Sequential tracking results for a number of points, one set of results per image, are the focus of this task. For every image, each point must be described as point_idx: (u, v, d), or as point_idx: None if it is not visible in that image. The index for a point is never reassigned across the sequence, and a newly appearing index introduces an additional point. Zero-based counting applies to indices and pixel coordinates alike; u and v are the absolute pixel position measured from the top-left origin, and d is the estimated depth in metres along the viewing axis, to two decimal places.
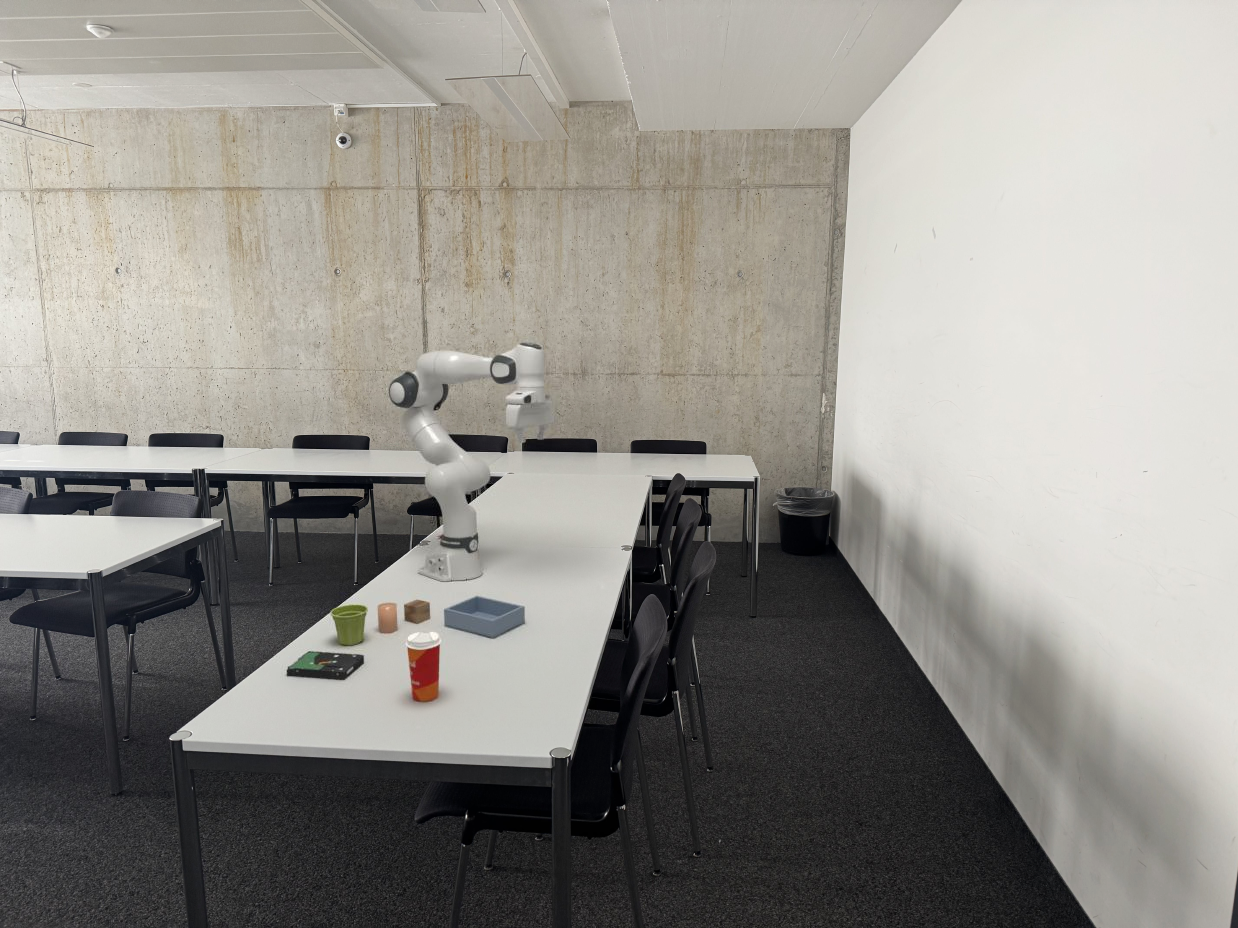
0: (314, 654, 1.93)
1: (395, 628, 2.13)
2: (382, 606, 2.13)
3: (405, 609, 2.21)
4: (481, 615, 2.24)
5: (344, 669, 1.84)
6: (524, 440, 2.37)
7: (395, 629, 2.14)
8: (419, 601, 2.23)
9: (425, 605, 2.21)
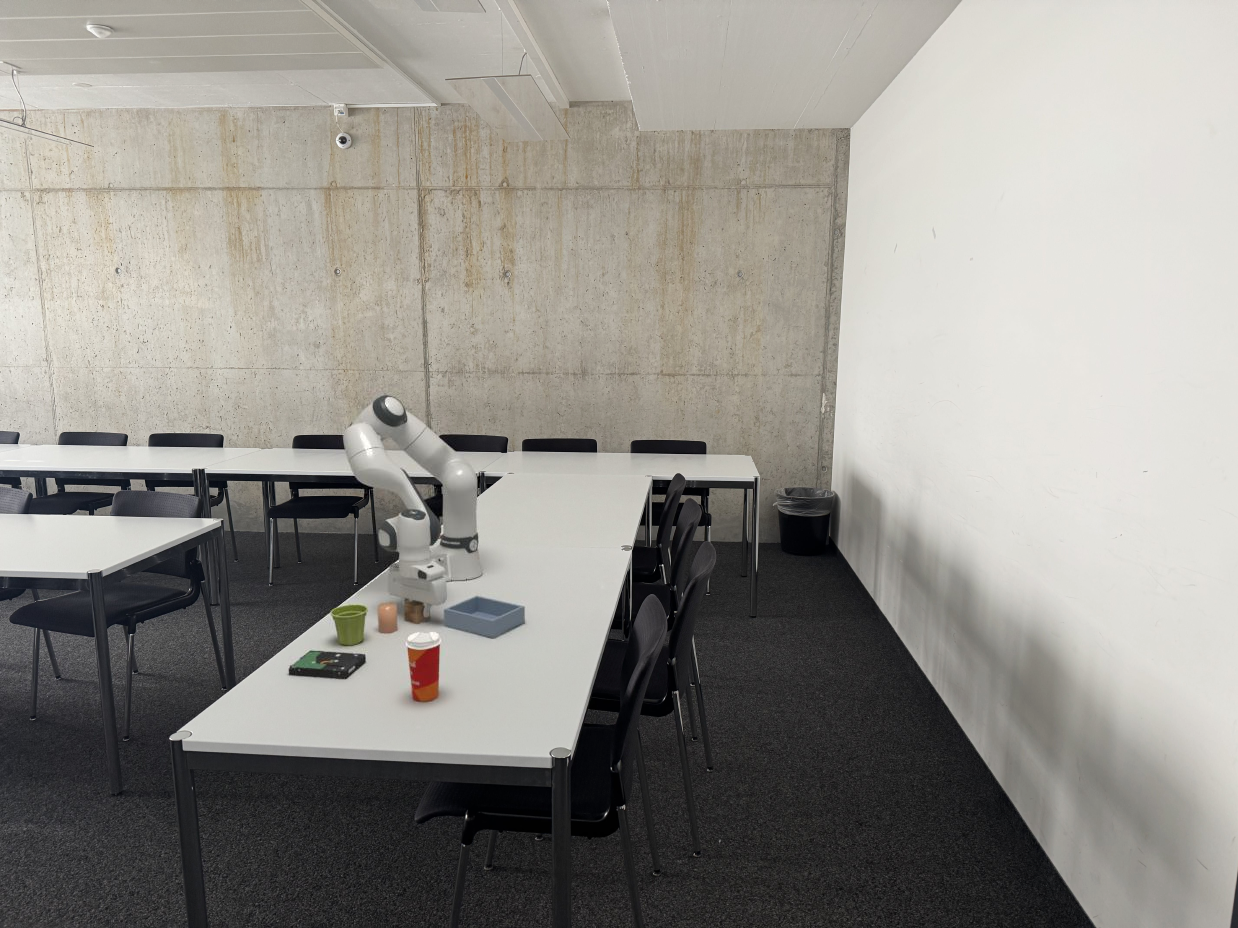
0: (316, 653, 1.93)
1: (395, 628, 2.13)
2: (382, 606, 2.13)
3: (405, 609, 2.21)
4: (481, 615, 2.24)
5: (346, 668, 1.84)
6: None
7: (395, 629, 2.14)
8: None
9: None
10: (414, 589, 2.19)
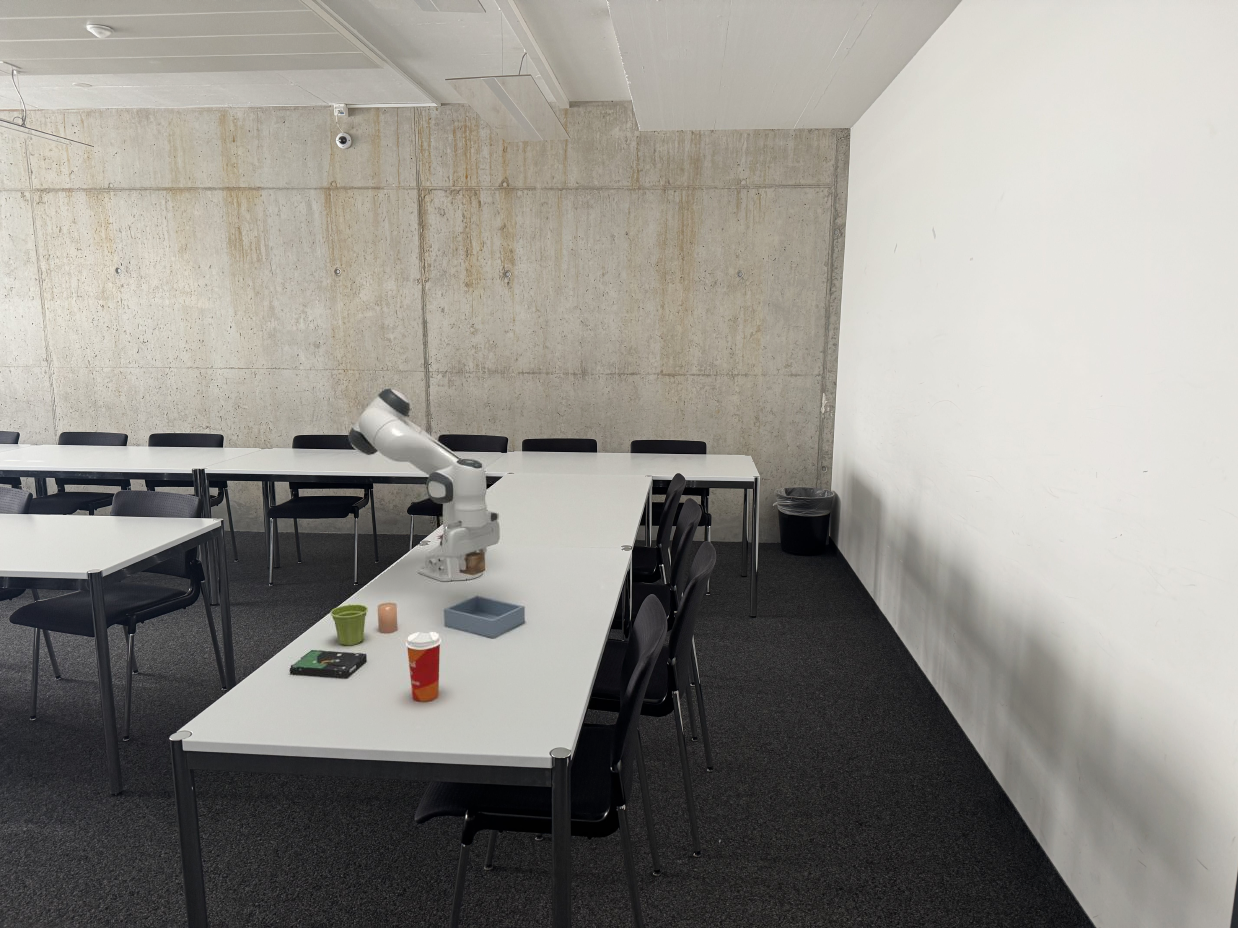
0: (317, 653, 1.93)
1: (395, 628, 2.13)
2: (382, 606, 2.13)
3: (474, 562, 2.15)
4: (481, 615, 2.24)
5: (347, 668, 1.85)
6: None
7: (395, 629, 2.14)
8: (467, 554, 2.18)
9: None
10: (479, 538, 2.17)
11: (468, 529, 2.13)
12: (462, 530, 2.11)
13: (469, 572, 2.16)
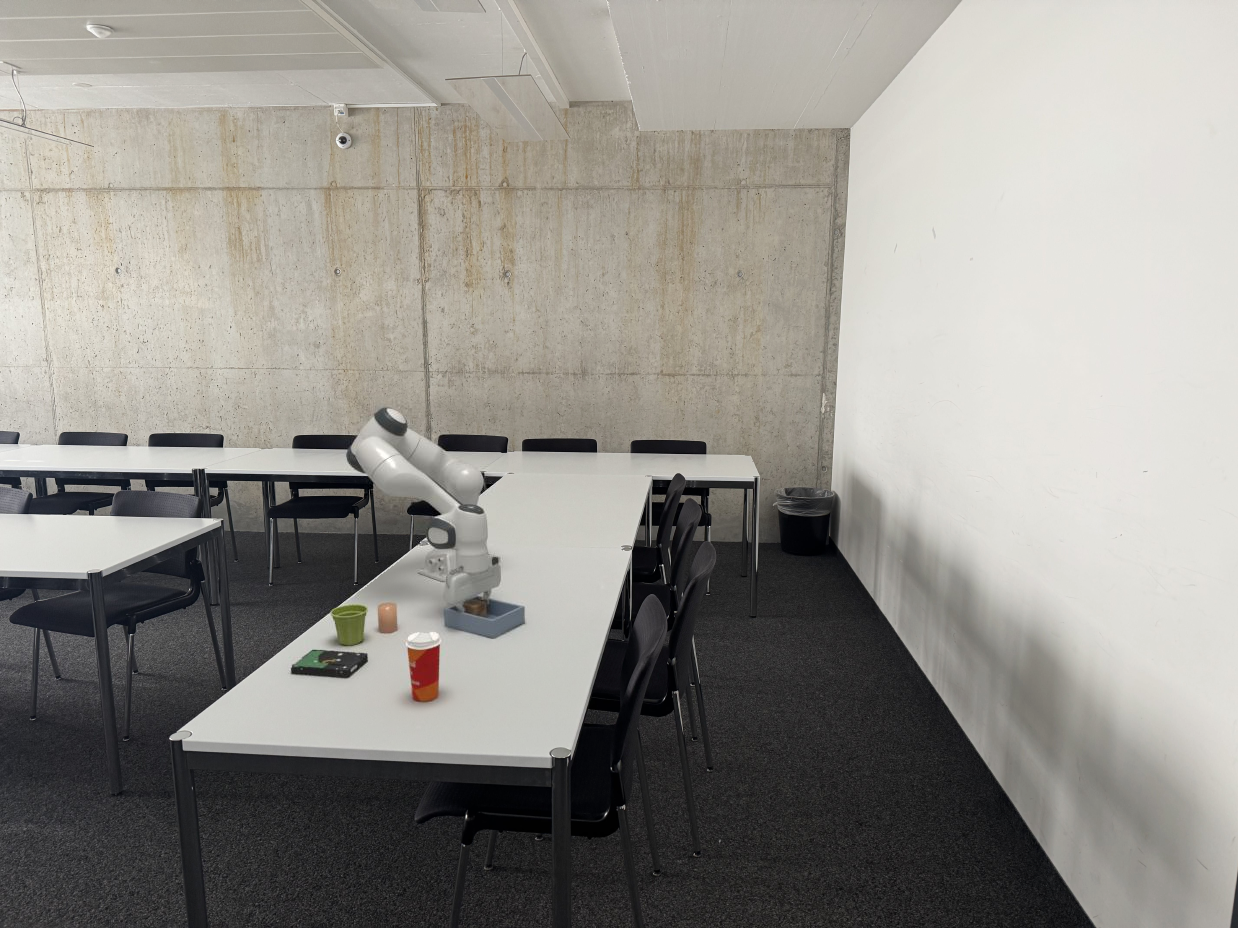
0: (318, 652, 1.94)
1: (395, 628, 2.13)
2: (382, 606, 2.13)
3: (475, 611, 2.17)
4: None
5: (348, 667, 1.85)
6: None
7: (395, 629, 2.14)
8: (469, 602, 2.20)
9: None
10: (480, 582, 2.19)
11: (470, 574, 2.15)
12: (464, 575, 2.13)
13: None
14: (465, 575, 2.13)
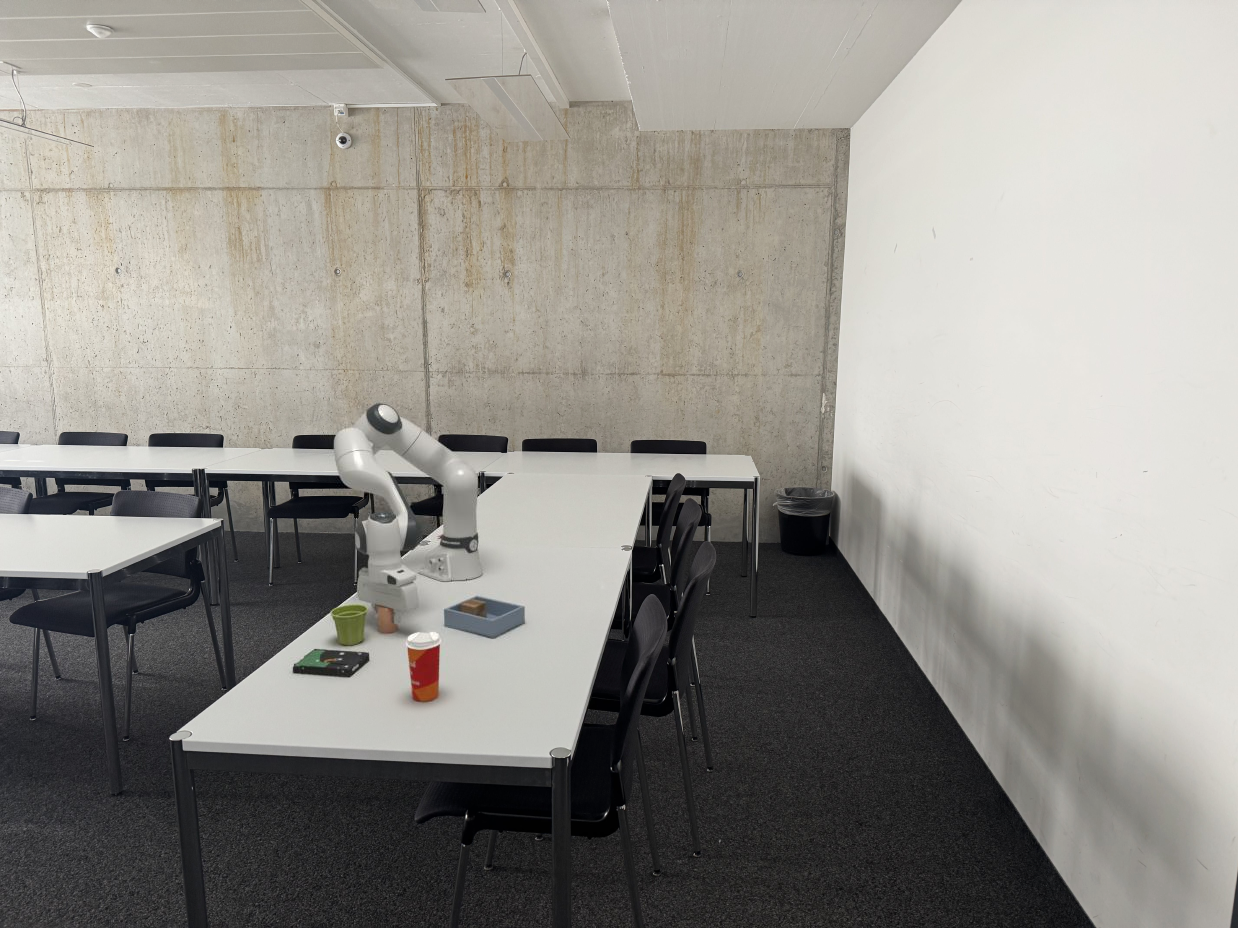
0: (320, 652, 1.94)
1: (395, 628, 2.13)
2: (382, 606, 2.13)
3: (475, 611, 2.17)
4: None
5: (349, 666, 1.85)
6: None
7: (395, 629, 2.14)
8: (469, 602, 2.20)
9: None
10: (384, 595, 2.11)
11: None
12: (367, 578, 2.14)
13: None
14: (368, 578, 2.13)
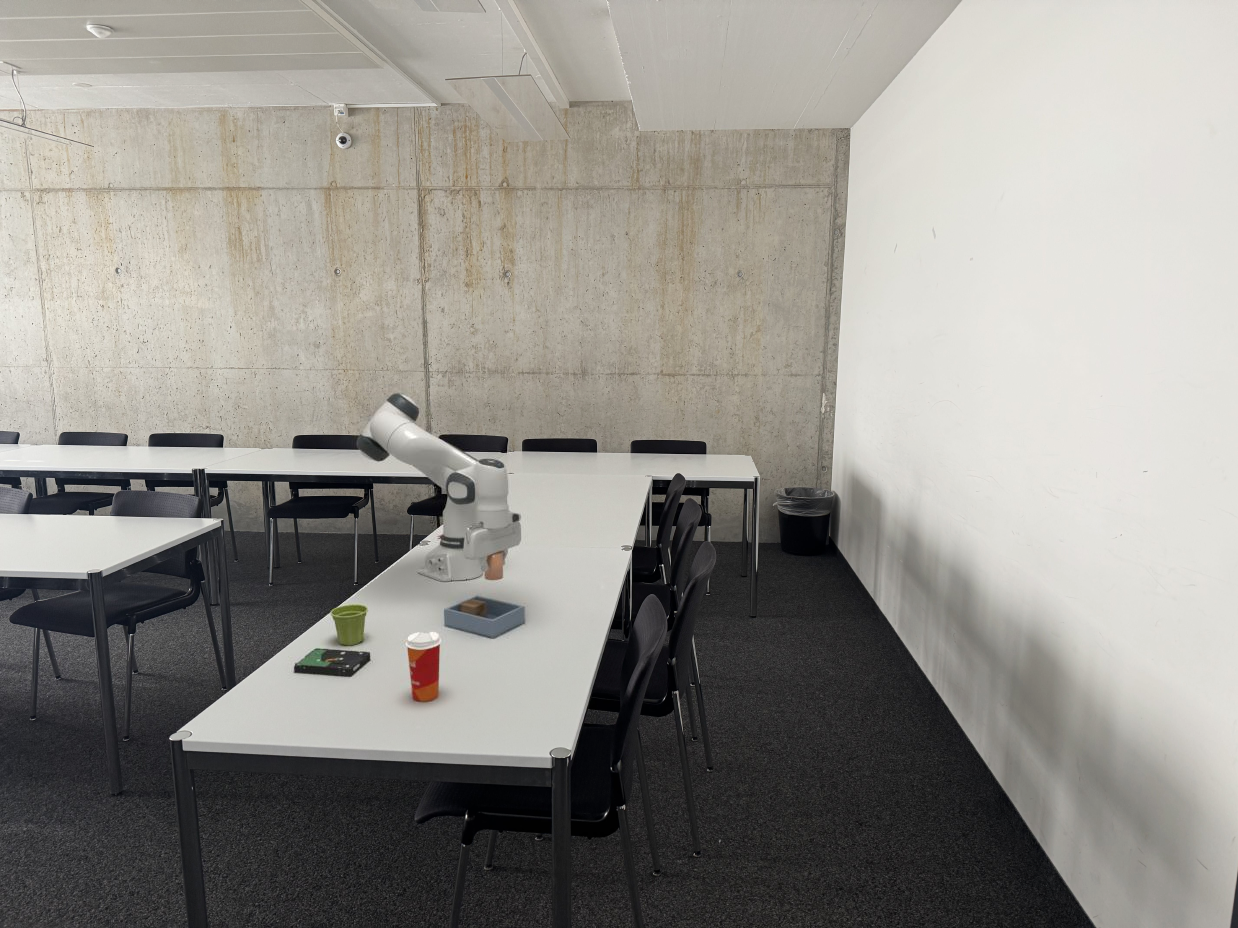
0: (321, 651, 1.95)
1: None
2: (495, 553, 2.12)
3: (475, 611, 2.17)
4: None
5: (350, 666, 1.86)
6: None
7: None
8: (469, 602, 2.20)
9: None
10: (500, 539, 2.13)
11: (490, 530, 2.09)
12: (484, 531, 2.07)
13: None
14: (485, 531, 2.07)
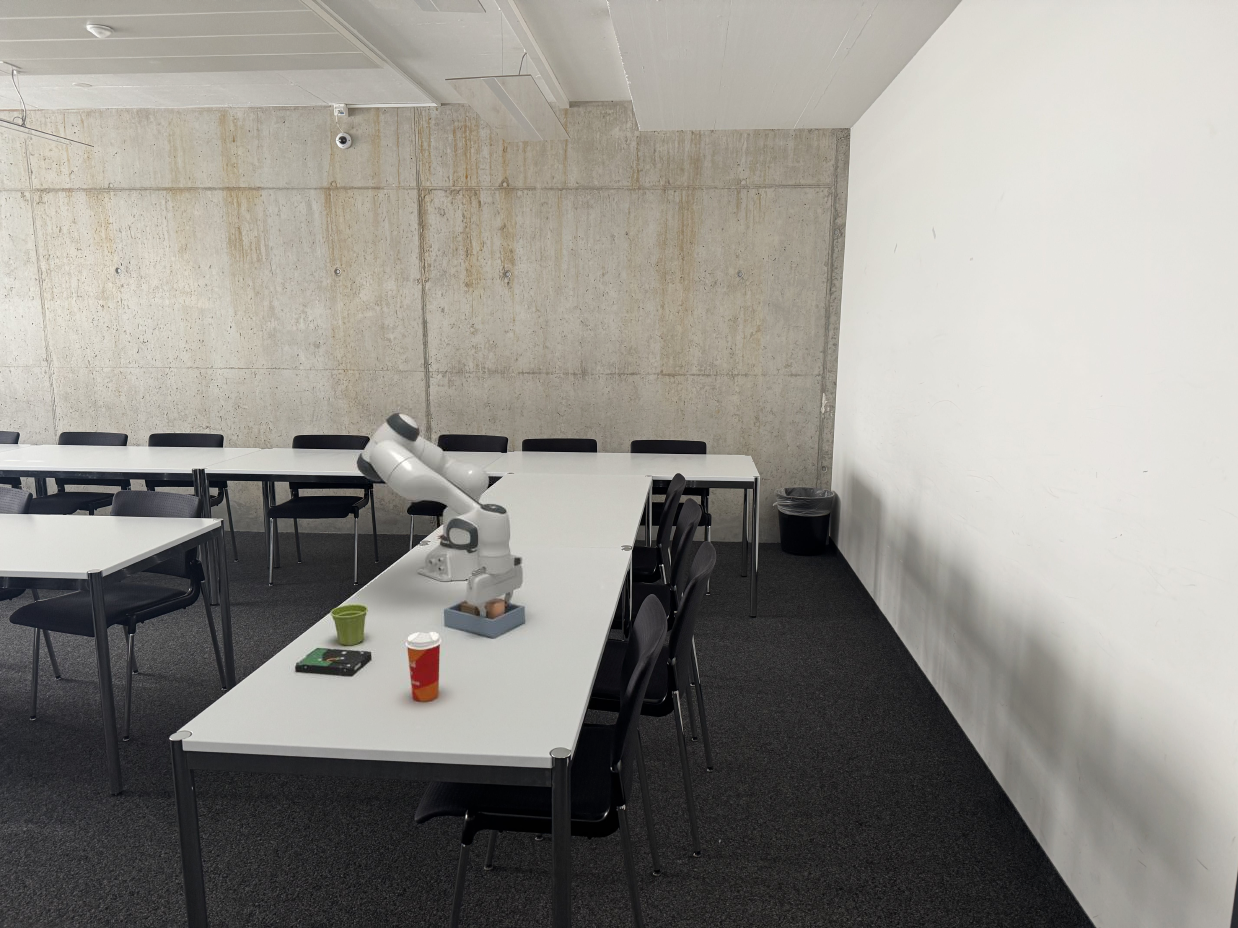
0: (322, 651, 1.95)
1: None
2: (496, 602, 2.14)
3: (475, 611, 2.17)
4: None
5: (352, 665, 1.86)
6: None
7: None
8: None
9: None
10: (502, 583, 2.15)
11: (492, 575, 2.11)
12: (486, 577, 2.09)
13: None
14: (487, 576, 2.09)
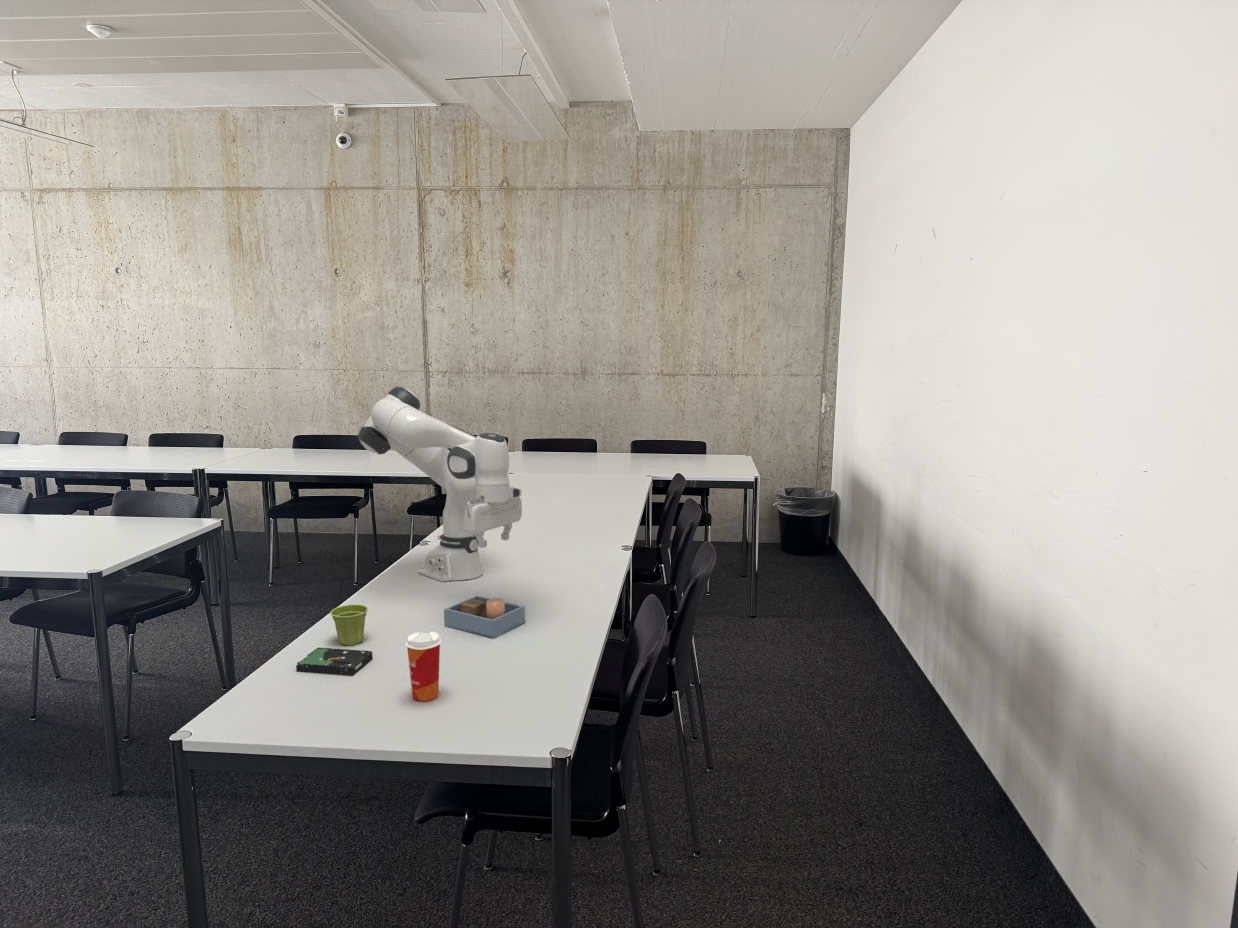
0: (323, 650, 1.95)
1: None
2: (497, 602, 2.14)
3: (475, 611, 2.17)
4: None
5: (352, 665, 1.86)
6: None
7: None
8: (469, 602, 2.20)
9: None
10: (501, 514, 2.12)
11: (490, 504, 2.08)
12: (485, 505, 2.06)
13: None
14: (486, 505, 2.06)
